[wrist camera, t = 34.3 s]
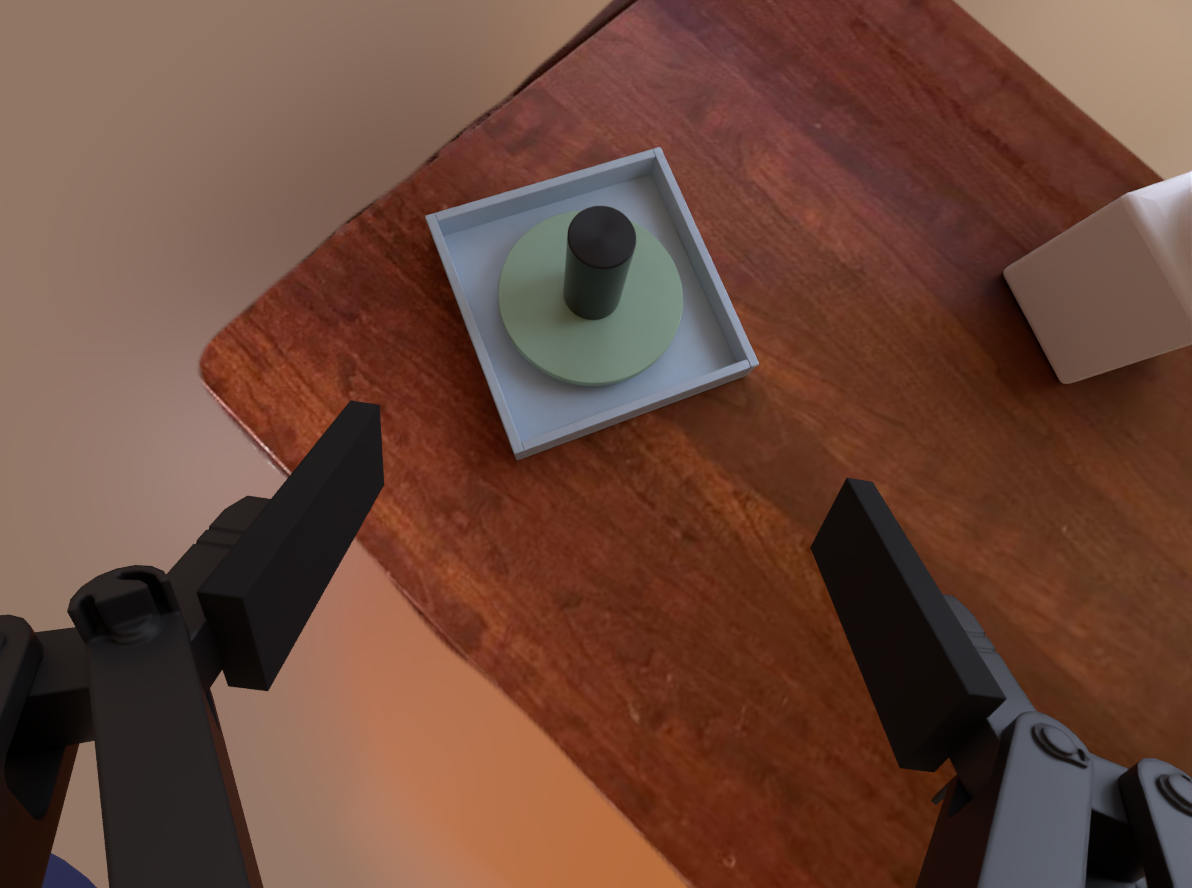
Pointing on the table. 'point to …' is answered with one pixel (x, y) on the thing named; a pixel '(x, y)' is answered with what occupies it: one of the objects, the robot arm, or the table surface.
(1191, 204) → the container
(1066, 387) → the table surface
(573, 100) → the table surface
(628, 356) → the lid
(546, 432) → the tray
